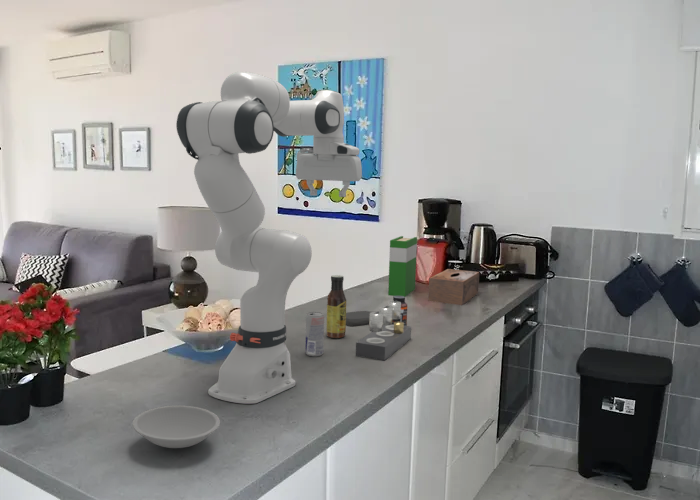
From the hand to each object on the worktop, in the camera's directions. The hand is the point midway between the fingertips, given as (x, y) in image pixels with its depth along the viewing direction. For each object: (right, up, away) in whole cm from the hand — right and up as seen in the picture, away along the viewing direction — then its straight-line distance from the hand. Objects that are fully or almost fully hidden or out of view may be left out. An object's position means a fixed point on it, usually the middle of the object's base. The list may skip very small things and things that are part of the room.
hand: (327, 196), depth 170 cm
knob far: (+21, -38, +14) cm, 45 cm away
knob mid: (+17, -38, +7) cm, 43 cm away
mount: (+17, -46, +8) cm, 49 cm away
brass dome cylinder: (+22, -42, +10) cm, 48 cm away
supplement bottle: (+23, -43, +28) cm, 56 cm away
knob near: (+14, -39, -1) cm, 42 cm away
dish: (-27, -54, -57) cm, 84 cm away
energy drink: (-4, -47, 0) cm, 47 cm away
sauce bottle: (+2, -44, +18) cm, 47 cm away
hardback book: (+30, -35, +87) cm, 98 cm away
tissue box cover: (+52, -37, +79) cm, 102 cm away
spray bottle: (+14, -42, +40) cm, 59 cm away
